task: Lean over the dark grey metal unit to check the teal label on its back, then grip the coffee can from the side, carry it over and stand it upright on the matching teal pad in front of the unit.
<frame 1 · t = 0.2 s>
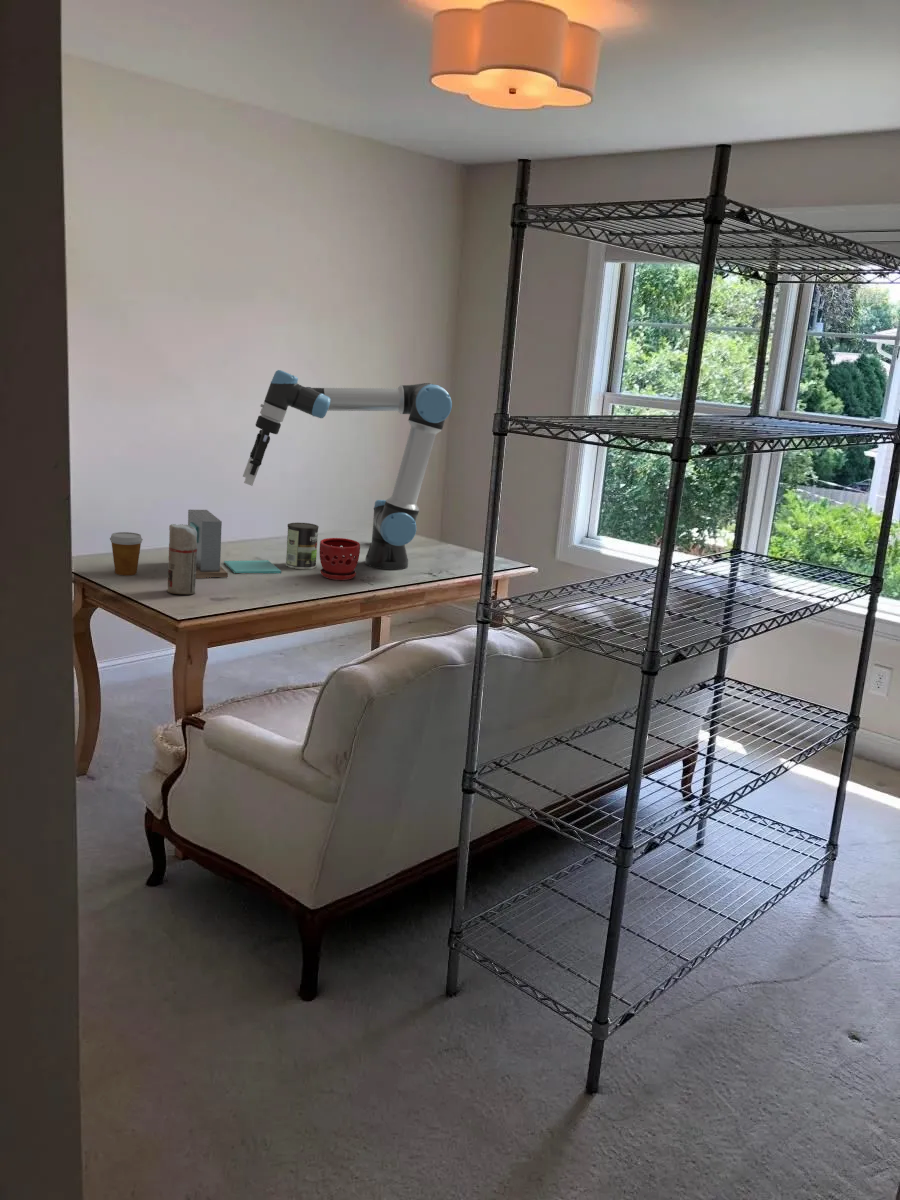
hand: (247, 481, 317), 29 cm above the table, tool tilted 20°, fingers open, 13 cm apart
spray can: (181, 593, 287), on the table
disposable coffee cup: (125, 573, 303), on the table
plant pot: (337, 578, 323), on the table
coffee can: (300, 566, 334), on the table
mounted unit: (202, 569, 317), on the table
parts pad: (252, 568, 325), on the table
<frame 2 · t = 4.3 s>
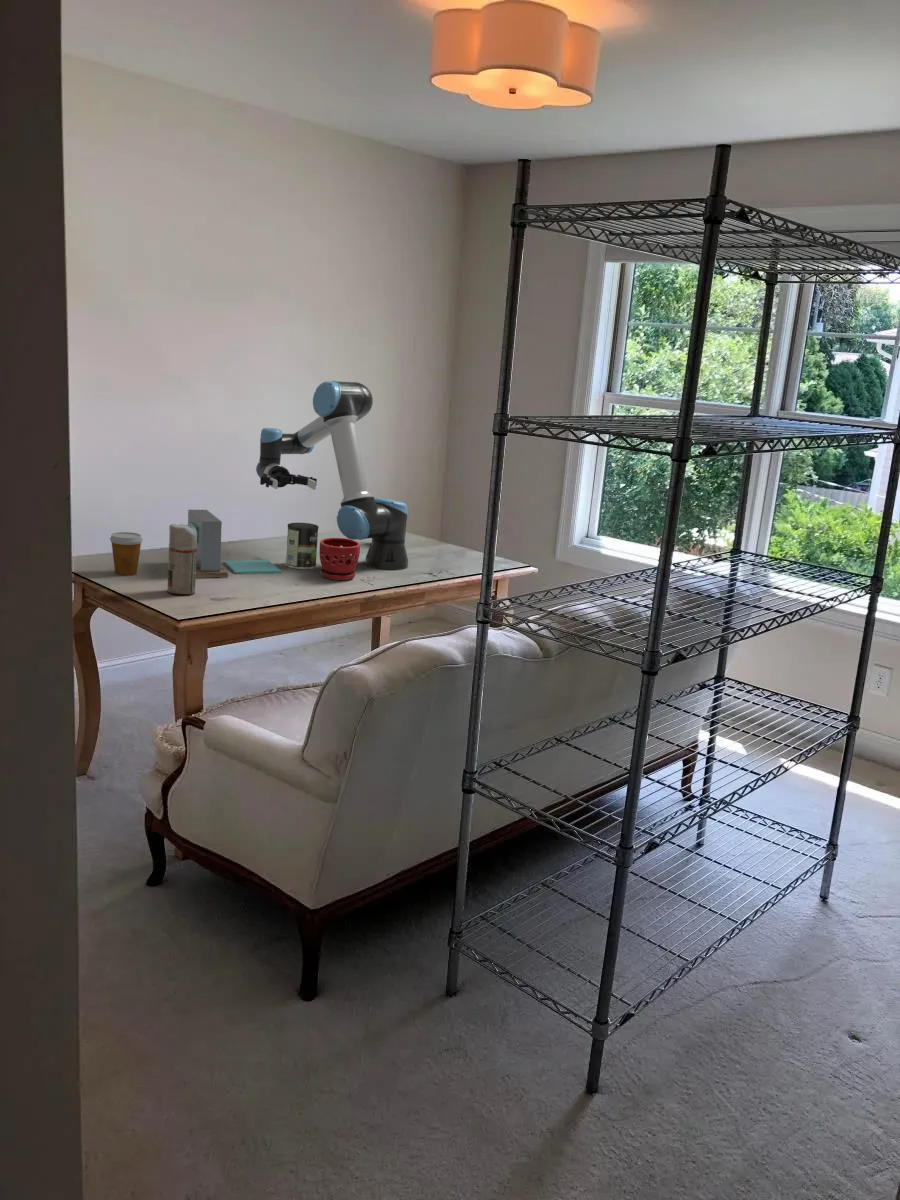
hand: (295, 485, 336), 26 cm above the table, tool horizontal, fingers open, 13 cm apart
nothing on the table moved.
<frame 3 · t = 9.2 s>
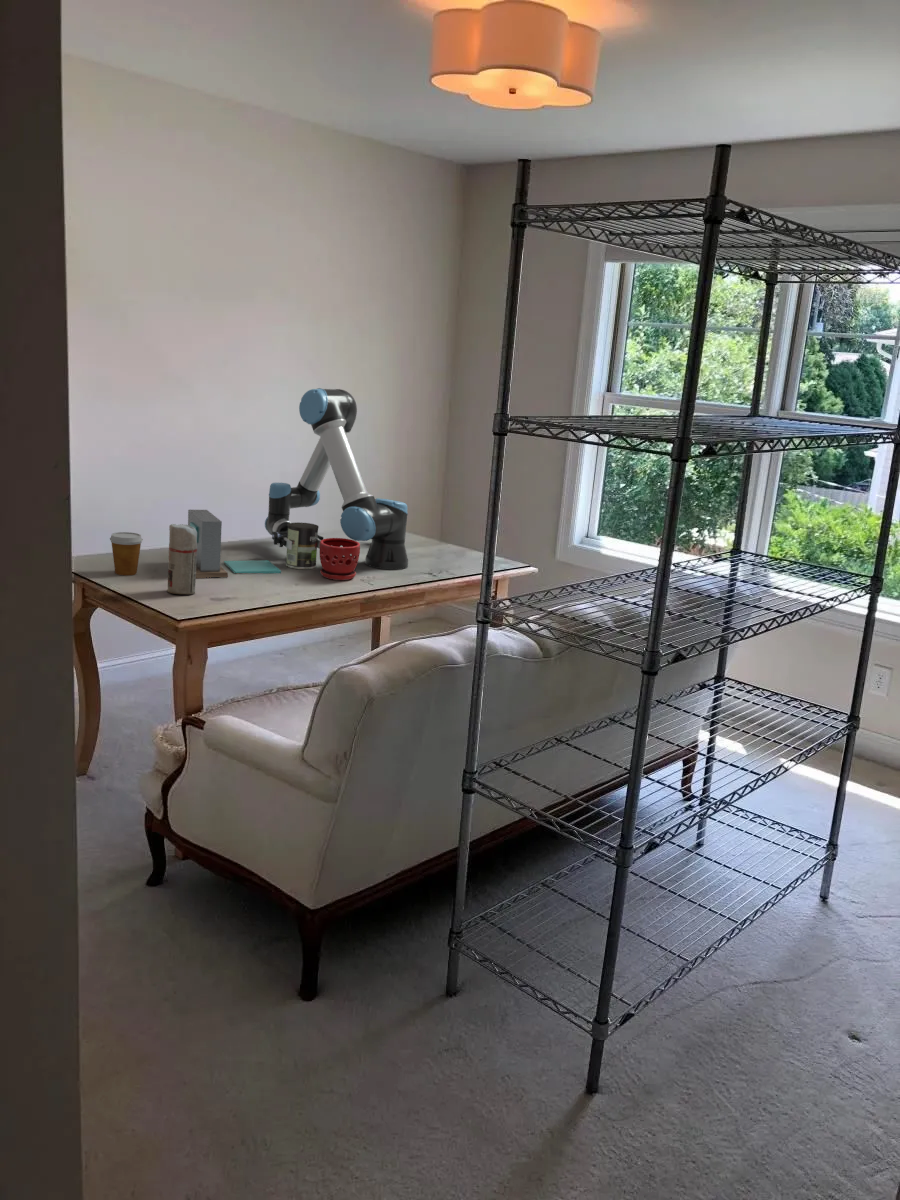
hand: (306, 545, 328), 8 cm above the table, tool horizontal, fingers closed on coffee can, 10 cm apart
coffee can: (300, 566, 334), on the table, touching gripper
everything else where it was.
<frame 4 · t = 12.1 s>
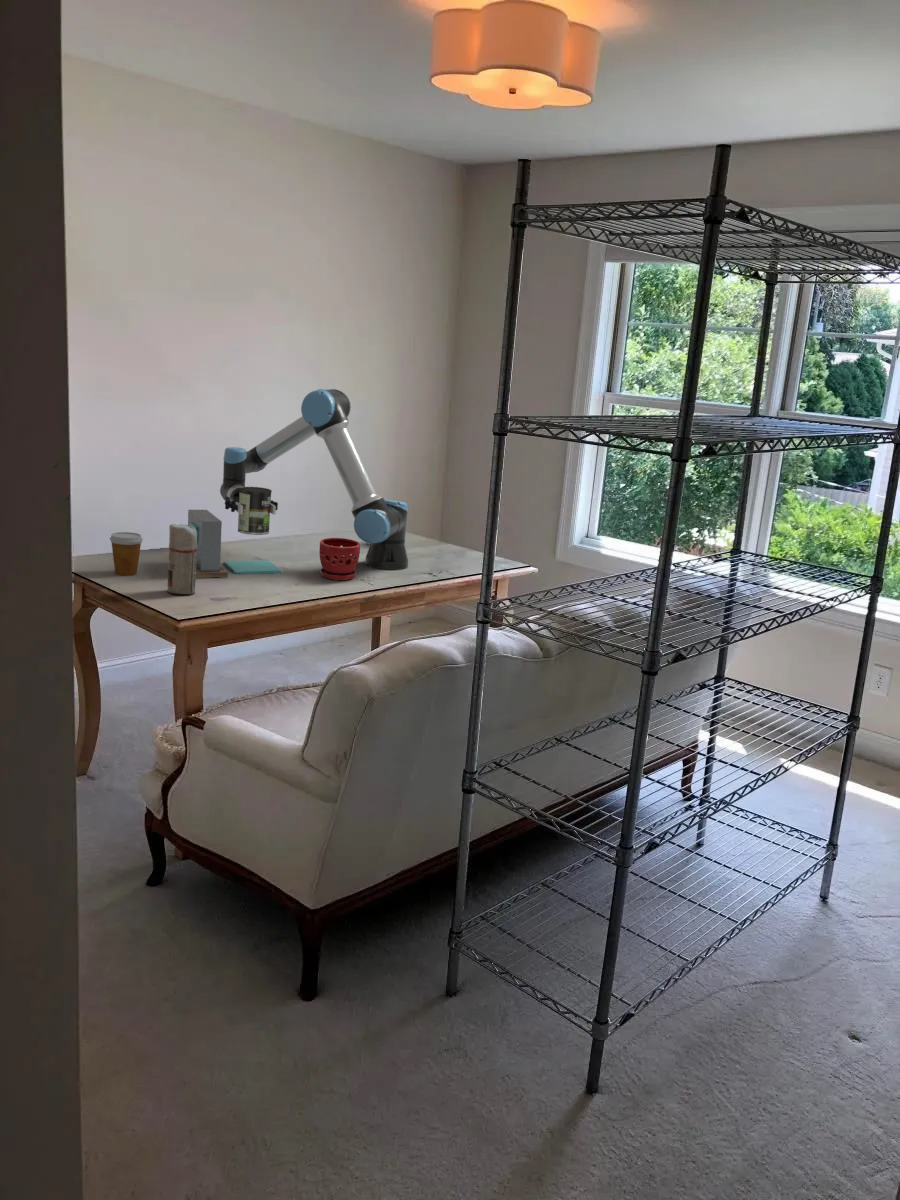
hand: (258, 510, 316), 20 cm above the table, tool horizontal, fingers closed on coffee can, 10 cm apart
coffee can: (253, 532, 322), point 12 cm above the table, touching gripper
everything else where it was.
when the fingers open (10 cm above the table, at t = 14.9 s): coffee can drops 1 cm, resting on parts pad.
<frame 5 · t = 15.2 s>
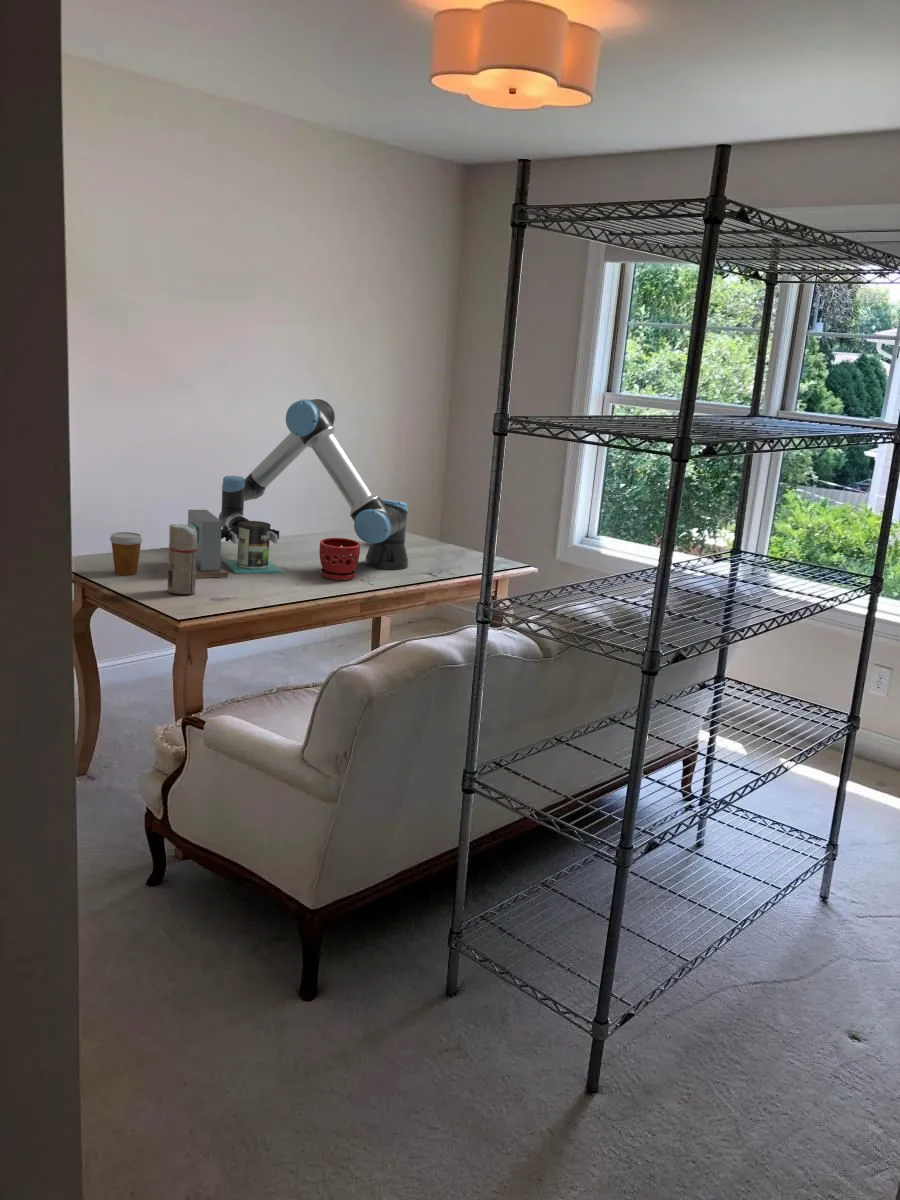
hand: (256, 539, 319), 10 cm above the table, tool horizontal, fingers open, 13 cm apart
coffee can: (252, 566, 325), point 1 cm above the table, touching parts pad
everything else where it was.
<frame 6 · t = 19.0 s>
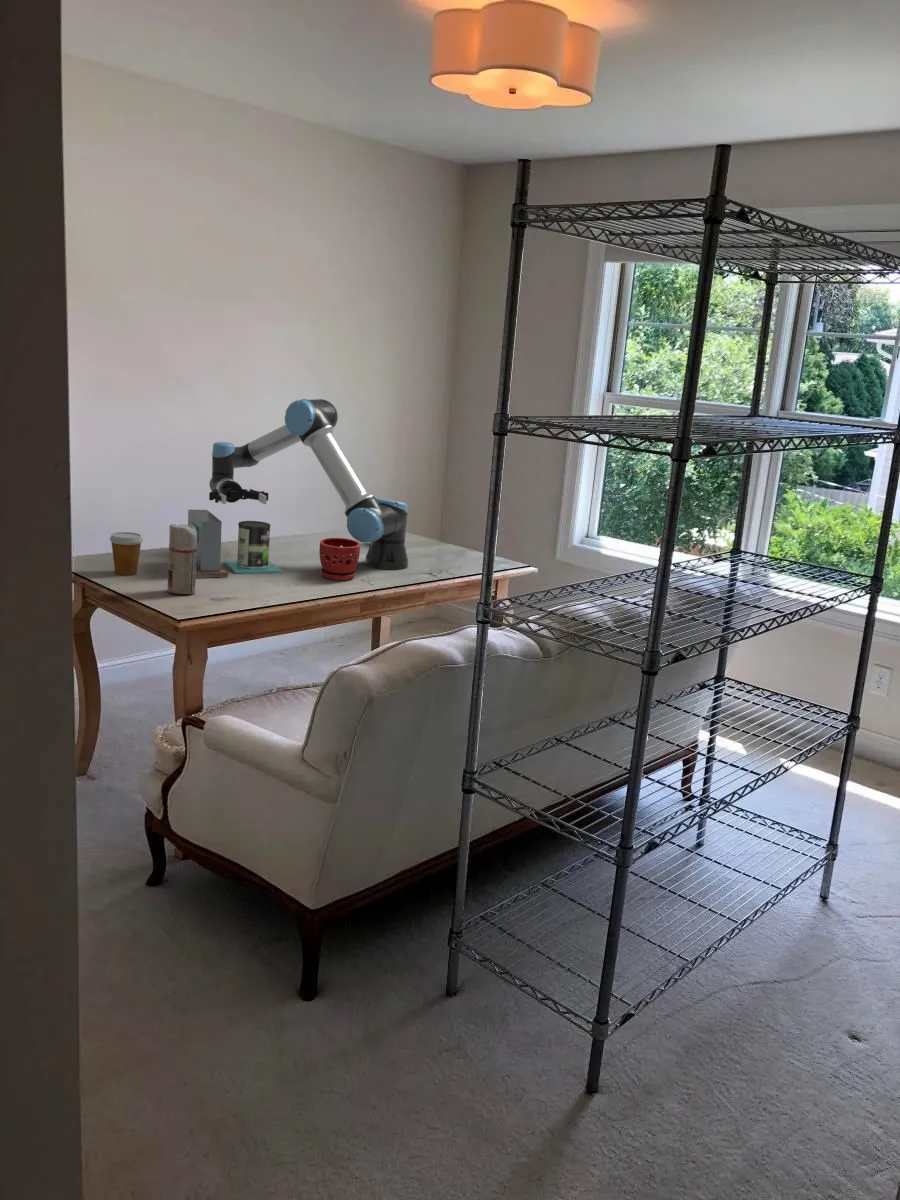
hand: (245, 500, 328), 21 cm above the table, tool horizontal, fingers open, 13 cm apart
nothing on the table moved.
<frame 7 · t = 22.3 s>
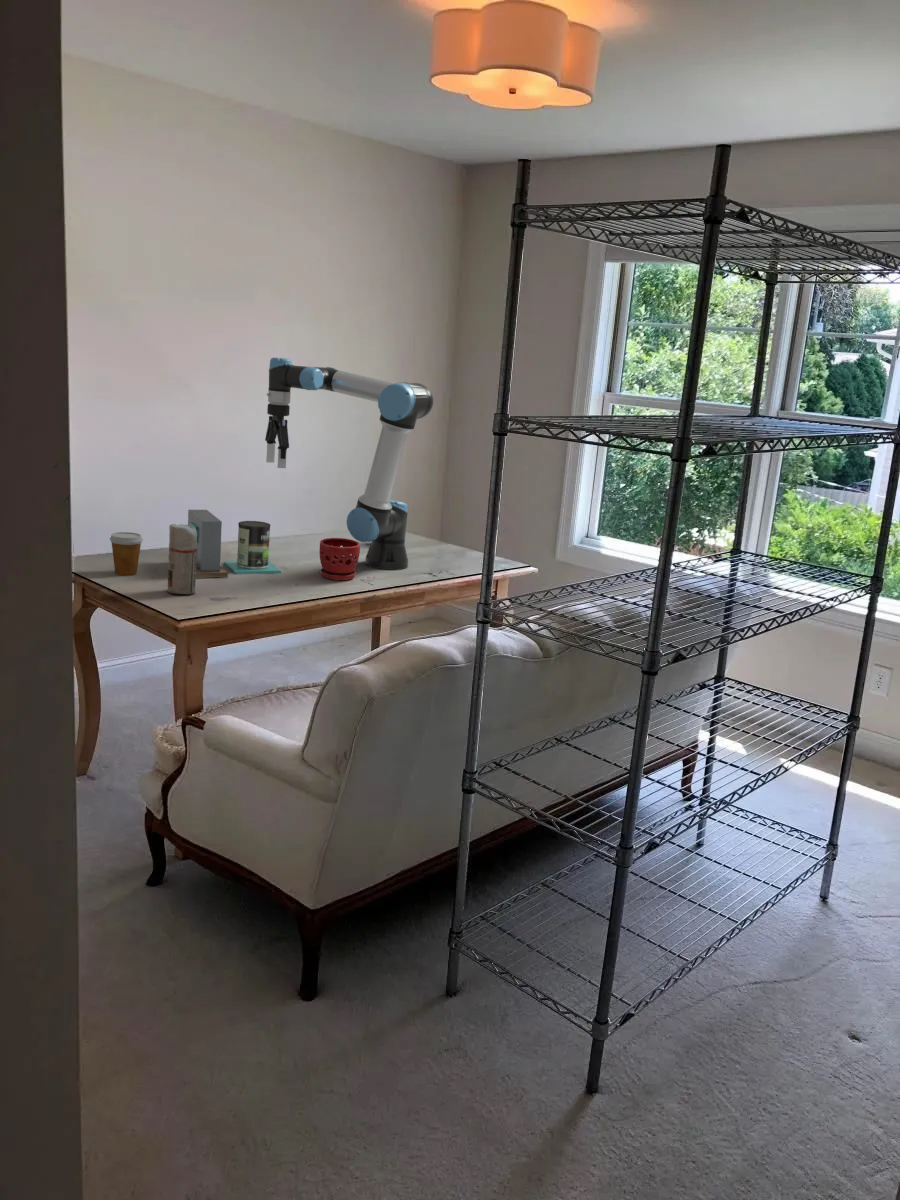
hand: (275, 465, 345), 31 cm above the table, tool pointing down, fingers open, 13 cm apart
nothing on the table moved.
at the end: coffee can inside the target area on the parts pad (0.2 cm from its centre), point 0.6 cm above the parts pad's base; coffee can tilted 0°; the gripper is holding nothing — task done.
